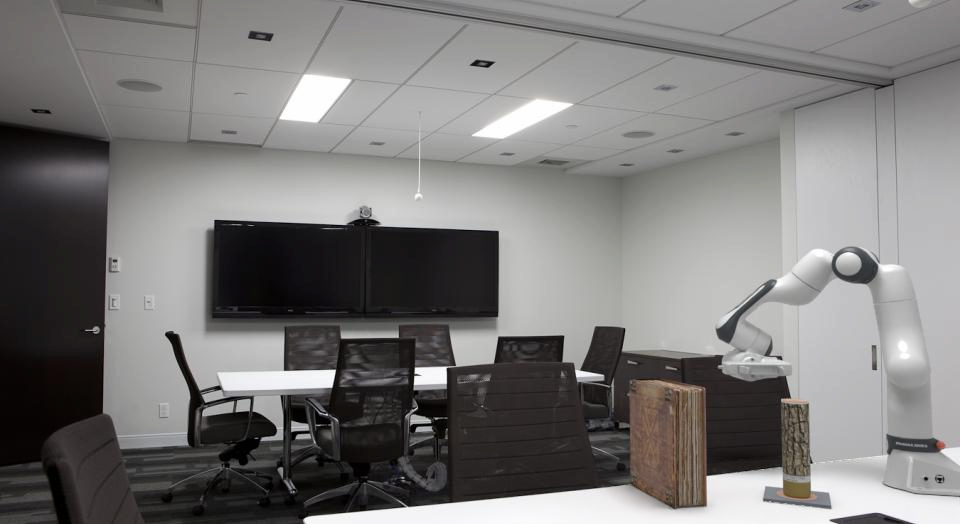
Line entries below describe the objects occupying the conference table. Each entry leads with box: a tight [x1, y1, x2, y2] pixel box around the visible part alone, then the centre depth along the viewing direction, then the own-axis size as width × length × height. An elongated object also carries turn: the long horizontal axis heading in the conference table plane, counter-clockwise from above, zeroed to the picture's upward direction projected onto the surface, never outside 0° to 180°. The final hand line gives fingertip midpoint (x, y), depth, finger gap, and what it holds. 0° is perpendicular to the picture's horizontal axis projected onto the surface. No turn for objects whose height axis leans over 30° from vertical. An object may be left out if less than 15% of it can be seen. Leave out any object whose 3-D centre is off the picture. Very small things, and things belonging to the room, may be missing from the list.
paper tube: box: [780, 398, 812, 498], centre depth 186 cm, size 7×7×25 cm
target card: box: [762, 485, 832, 510], centre depth 186 cm, size 16×14×1 cm
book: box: [628, 377, 708, 510], centre depth 189 cm, size 25×9×30 cm, turn 13°
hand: (765, 370), depth 208 cm, fingers open, 8 cm apart
